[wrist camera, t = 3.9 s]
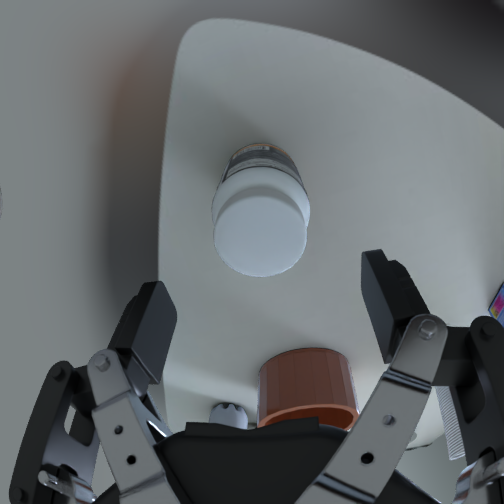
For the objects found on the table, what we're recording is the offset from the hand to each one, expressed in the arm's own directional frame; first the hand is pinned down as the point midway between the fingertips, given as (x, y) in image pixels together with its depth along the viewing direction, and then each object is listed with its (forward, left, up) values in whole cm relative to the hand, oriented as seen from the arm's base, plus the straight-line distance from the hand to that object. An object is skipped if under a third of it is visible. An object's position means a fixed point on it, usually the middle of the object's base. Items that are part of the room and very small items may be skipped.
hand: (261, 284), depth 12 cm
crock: (+1, -28, -14) cm, 31 cm away
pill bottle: (0, 0, -14) cm, 14 cm away
